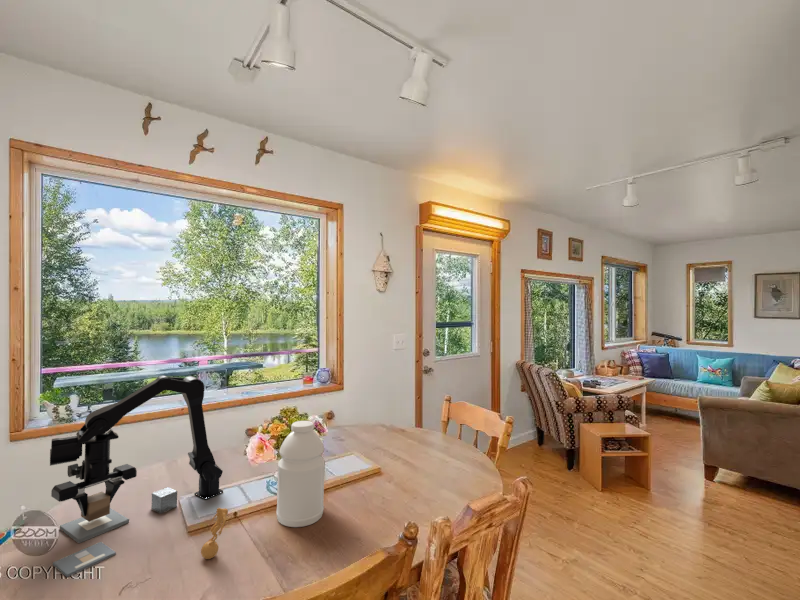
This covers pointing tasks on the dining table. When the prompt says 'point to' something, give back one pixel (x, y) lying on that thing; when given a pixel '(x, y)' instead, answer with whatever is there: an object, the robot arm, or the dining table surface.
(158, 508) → the metal cube
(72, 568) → the board
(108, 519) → the base plate
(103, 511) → the walnut cube
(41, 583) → the dining table surface
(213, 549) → the figurine
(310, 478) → the bottle
